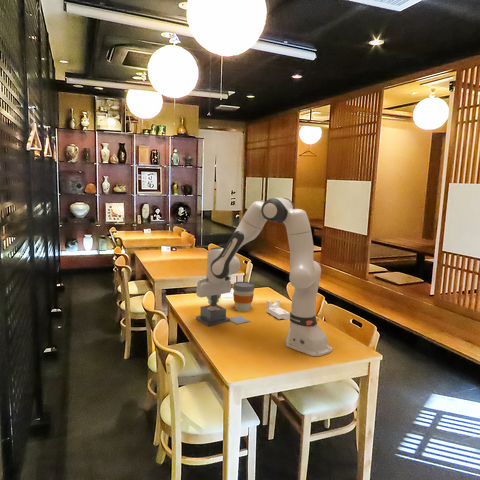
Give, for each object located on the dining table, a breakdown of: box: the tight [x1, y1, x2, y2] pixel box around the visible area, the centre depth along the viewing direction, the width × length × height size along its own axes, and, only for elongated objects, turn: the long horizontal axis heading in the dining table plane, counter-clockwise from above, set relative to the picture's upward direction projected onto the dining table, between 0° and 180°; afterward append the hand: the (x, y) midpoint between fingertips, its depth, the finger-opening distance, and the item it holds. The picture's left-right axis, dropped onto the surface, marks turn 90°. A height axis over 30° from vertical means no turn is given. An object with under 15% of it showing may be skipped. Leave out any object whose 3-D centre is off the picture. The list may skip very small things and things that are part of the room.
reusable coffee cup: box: [232, 281, 255, 312], centre depth 226 cm, size 12×13×15 cm
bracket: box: [266, 299, 290, 320], centre depth 218 cm, size 13×7×8 cm, turn 28°
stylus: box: [209, 295, 218, 310], centre depth 204 cm, size 3×3×8 cm
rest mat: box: [228, 315, 251, 326], centre depth 208 cm, size 9×9×1 cm
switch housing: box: [195, 304, 231, 328], centre depth 205 cm, size 12×14×7 cm
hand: (213, 302), depth 204 cm, fingers closed on stylus, 3 cm apart
